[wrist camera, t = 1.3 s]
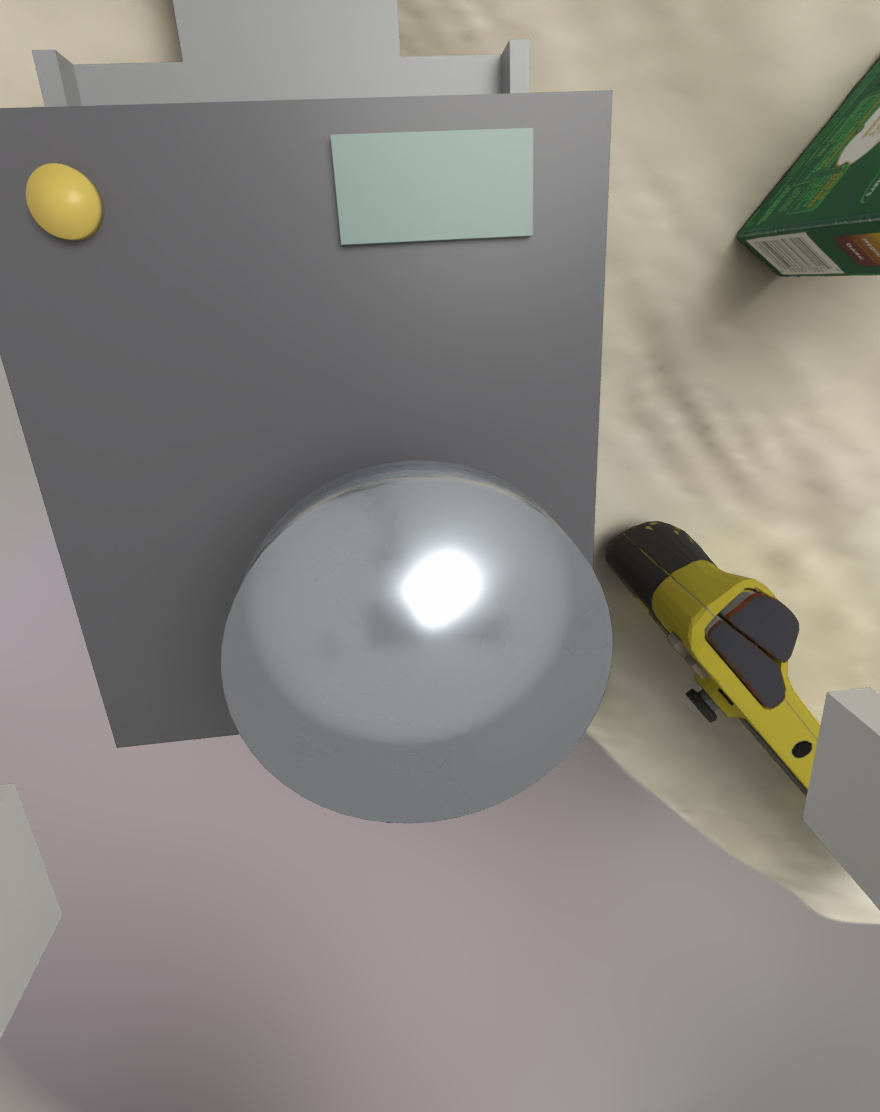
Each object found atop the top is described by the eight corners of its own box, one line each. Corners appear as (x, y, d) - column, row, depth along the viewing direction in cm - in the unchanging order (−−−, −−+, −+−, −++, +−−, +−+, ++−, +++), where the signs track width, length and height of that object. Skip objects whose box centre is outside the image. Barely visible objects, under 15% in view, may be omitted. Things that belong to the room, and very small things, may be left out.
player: (60, 168, 21) (-271, 24, 10) (541, 150, 23) (713, 5, 11) (173, 644, 28) (49, 870, 17) (537, 608, 29) (644, 796, 18)
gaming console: (565, 550, 29) (661, 671, 19) (640, 487, 28) (778, 581, 19) (824, 843, 37) (975, 1022, 28) (887, 801, 37) (1063, 970, 27)
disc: (205, 475, 14) (183, 500, 12) (592, 446, 14) (623, 465, 13) (266, 789, 17) (255, 844, 15) (580, 752, 17) (604, 800, 16)
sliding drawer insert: (-41, -381, 16) (-197, -645, 11) (514, -365, 17) (567, -598, 13) (125, 352, 22) (66, 365, 18) (518, 328, 24) (554, 334, 19)
